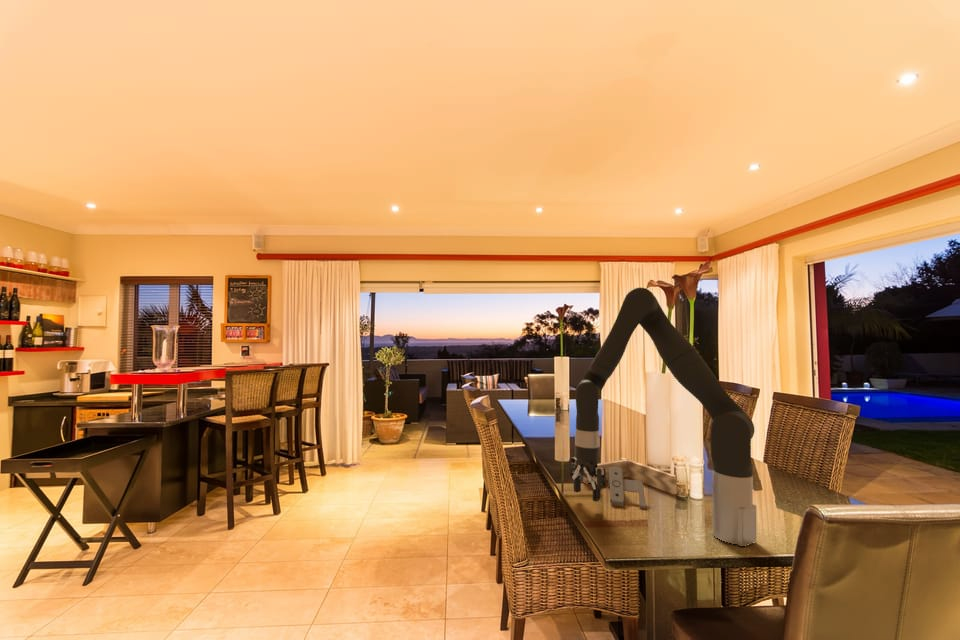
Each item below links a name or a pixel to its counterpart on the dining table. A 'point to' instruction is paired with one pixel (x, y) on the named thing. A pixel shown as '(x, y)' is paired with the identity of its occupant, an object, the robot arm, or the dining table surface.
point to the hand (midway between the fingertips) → (586, 496)
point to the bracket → (623, 488)
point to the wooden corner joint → (641, 474)
